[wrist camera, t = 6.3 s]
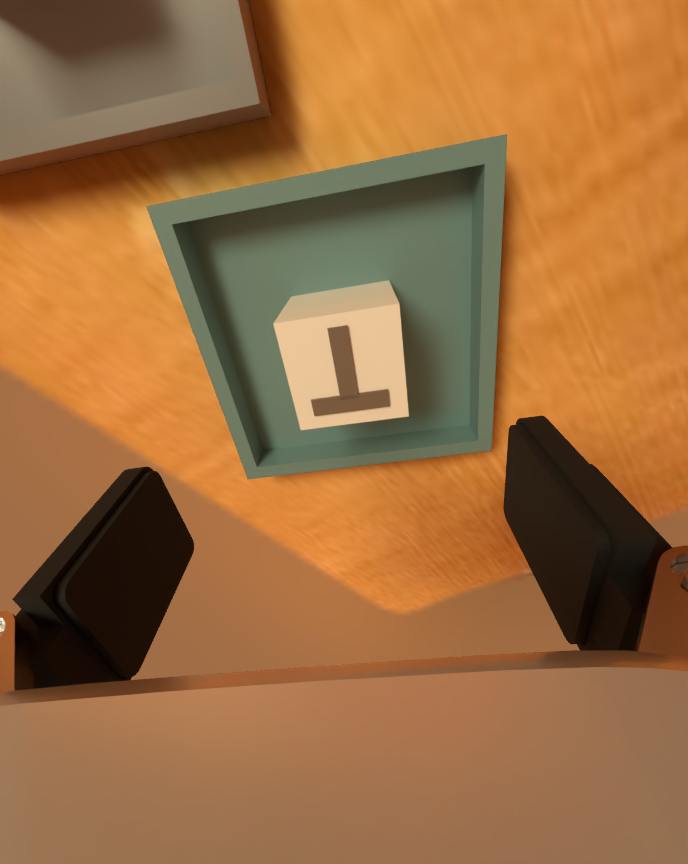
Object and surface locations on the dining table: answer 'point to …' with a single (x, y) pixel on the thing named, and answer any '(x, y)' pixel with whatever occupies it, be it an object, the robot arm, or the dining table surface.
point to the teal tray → (339, 268)
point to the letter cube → (344, 355)
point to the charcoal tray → (121, 75)
